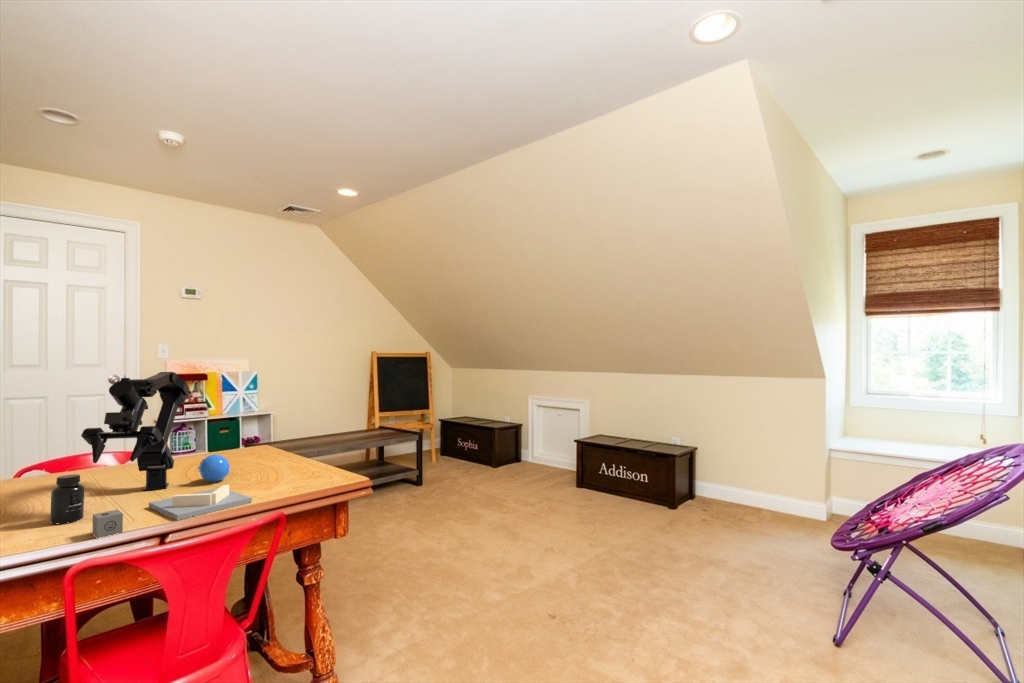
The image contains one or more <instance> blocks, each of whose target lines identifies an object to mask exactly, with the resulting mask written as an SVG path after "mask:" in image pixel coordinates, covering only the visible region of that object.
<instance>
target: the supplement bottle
mask: <svg viewBox="0 0 1024 683" xmlns="http://www.w3.org/2000/svg"><path fill="white" fill-rule="evenodd" d="M80 482H81V474H76V473H75V474H74V473H73V474H67V475H66V474H65V475H60V476H57V477H56V482H55V485H56V487H54V488H53V489H52V490H51V493H50V519H49V520H50V523H51V522H52V523H66V524H68V523H67V522H71V523H74V522H73V521H75V522H77V520H79V521H81V520H82V519H83V518H84V512H85V486H84V485H83V484H82V483H81V484H80ZM80 519H81V520H80ZM52 523H51V524H52Z"/></svg>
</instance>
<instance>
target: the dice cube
mask: <svg viewBox="0 0 1024 683" xmlns="http://www.w3.org/2000/svg"><path fill="white" fill-rule="evenodd" d="M123 517H124V513H123V512H122V511H120V510H119V509H113V510H108V511H104V512H103V511H102V512H98V513H93V514H92V530H91V532H92V533H93V534H94V535H95V536H96V537H97V538H99V537H103V536H108V535H112V536H114V535H113V534H116V533H121V534H123V531H124V530H123V527H124V526H123V525H124V522H123V520H124V518H123ZM93 534H92V535H93ZM94 535H93V536H94ZM95 536H94V537H95ZM96 537H95V538H96ZM108 537H109V536H108ZM97 538H96V539H97ZM103 538H104V537H103ZM99 539H100V538H99Z"/></svg>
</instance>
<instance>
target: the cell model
mask: <svg viewBox="0 0 1024 683" xmlns="http://www.w3.org/2000/svg"><path fill="white" fill-rule="evenodd" d="M197 469H198V472H199V475H200V477H201V478H202V479H203V480H205V481H206V482H209V483H210V482H211V483H216V482H220V481H222V480H223V479H225V478H226V477H227V476H228V475H229V474H230V472H231V470H232V467H230V463H229V460H228V459H227V458H226V457H225V456H222V455H219V454H210V455H208V456H206V457H204V458H203V459H202V460H201V461H200V463H199V465H198V467H197Z"/></svg>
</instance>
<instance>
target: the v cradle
mask: <svg viewBox="0 0 1024 683" xmlns="http://www.w3.org/2000/svg"><path fill="white" fill-rule="evenodd" d="M249 502H252V503H253V498H252V496H248V495H245V494H242V493H239V492H236V491H233V490H230V484H223V485H221V486H220V487H217V488H212V489H207V490H202V491H197V492H193V493H188V494H174V495H173V496H172V497H169V498H164V499H160V500H159V499H158V500H155V501H154V500H153V501H149V502H148V508H149V509H151V508H152V509H151V510H153V509H154V510H153V511H155V510H156V511H155V512H157V511H158V513H159V512H160V513H159V514H161V515H164V514H165V515H164V516H166V515H167V516H166V517H168V516H169V517H168V518H170V517H172V518H171V519H173V518H174V519H173V520H175V519H176V520H175V521H177V520H178V521H181V520H180V519H182V520H185V519H184V518H187V517H191V518H193V517H192V516H195V517H197V516H196V515H199V516H201V515H200V514H203V515H205V514H204V513H207V514H210V513H209V512H211V513H214V512H213V511H215V512H218V511H217V510H219V511H222V510H221V509H224V510H227V509H226V508H228V509H230V507H232V508H234V507H235V506H236V507H239V506H238V505H240V506H242V505H241V504H244V505H246V504H245V503H248V504H250V503H249ZM236 507H235V508H236ZM187 519H188V518H187Z"/></svg>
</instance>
